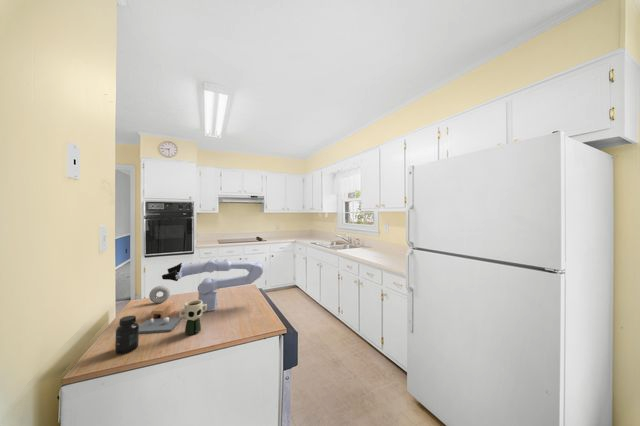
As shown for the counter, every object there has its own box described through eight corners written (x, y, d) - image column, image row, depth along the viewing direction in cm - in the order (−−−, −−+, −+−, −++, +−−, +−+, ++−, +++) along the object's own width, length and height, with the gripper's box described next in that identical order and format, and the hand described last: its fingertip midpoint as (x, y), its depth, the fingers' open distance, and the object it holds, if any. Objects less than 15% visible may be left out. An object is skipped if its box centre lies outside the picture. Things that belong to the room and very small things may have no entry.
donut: (170, 300, 137) (170, 283, 137) (169, 302, 134) (170, 285, 134) (149, 303, 132) (149, 286, 132) (148, 305, 129) (148, 287, 129)
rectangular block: (163, 310, 123) (163, 302, 124) (173, 309, 124) (173, 301, 124) (151, 320, 112) (151, 311, 112) (162, 319, 113) (162, 310, 113)
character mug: (180, 339, 95) (181, 308, 95) (177, 333, 101) (177, 303, 101) (208, 331, 103) (209, 302, 103) (203, 325, 108) (204, 297, 108)
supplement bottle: (110, 352, 86) (111, 320, 86) (131, 342, 92) (132, 313, 92) (122, 356, 83) (123, 323, 84) (142, 346, 90) (143, 316, 90)
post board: (181, 319, 113) (182, 312, 113) (171, 331, 102) (171, 323, 102) (147, 321, 111) (148, 314, 111) (132, 334, 99) (132, 326, 99)
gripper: (195, 257, 131) (168, 261, 128) (187, 268, 118) (157, 273, 114) (197, 268, 133) (171, 273, 130) (190, 280, 119) (161, 285, 116)
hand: (165, 274), depth 122 cm, fingers open, 7 cm apart
